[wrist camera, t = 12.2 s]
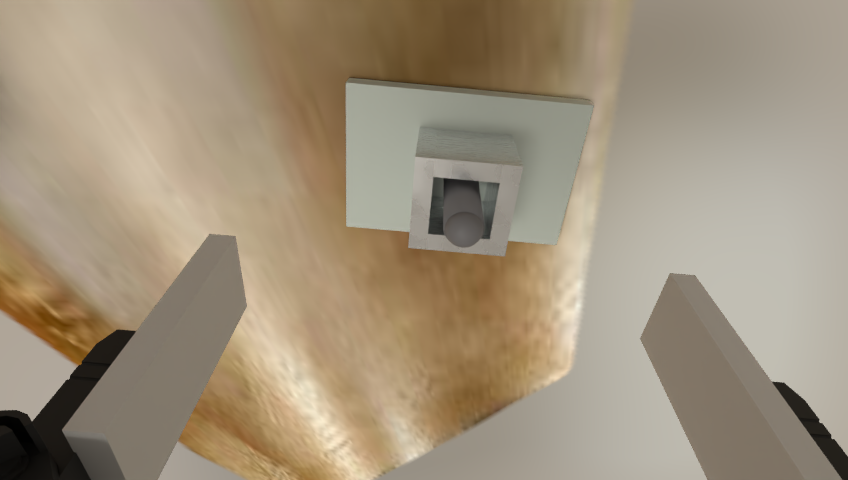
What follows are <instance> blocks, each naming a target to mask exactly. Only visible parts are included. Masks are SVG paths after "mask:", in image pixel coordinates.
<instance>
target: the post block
mask: <svg viewBox="0 0 848 480" xmlns="http://www.w3.org/2000/svg"><path fill="white" fill-rule="evenodd" d="M593 108H594V105H593V104H592V103H591V102H590V101H589V100H584V99H573V98H562V97H552V96H541V95H530V94H519V93H509V92H498V91H487V90H476V89H466V88H455V87H444V86H433V85H423V84H412V83H401V82H391V81H380V80H369V79H358V78H349V79H348V80H347V82H346V226H349V227H360V228H371V229H382V230H394V231H405V232H410V219H411V206H412V193H413V180H414V166H415V155H416V148H417V141H418V134H419V127H429V128H440V129H451V130H462V131H473V132H484V133H495V134H506V135H512V136H513V139H514V142H515V145H516V147H517V150H518V153H519V156H520V159H521V162H522V165H523V170H522V175H521V180H520V185H519V189H518V194H517V199H516V204H515V209H514V214H513V219H512V224H511V229H510V234H509V238H508V241H516V242H527V243H538V244H550V245H557V241H558V237H559V233H560V230H561V226H562V222H563V219H564V215H565V211H566V208H567V204H568V200H569V196H570V193H571V189H572V185H573V182H574V178H575V174H576V170H577V167H578V163H579V159H580V156H581V152H582V148H583V145H584V141H585V137H586V133H587V130H588V126H589V122H590V119H591V115H592V111H593ZM486 185H487V182H483V181H472V180H461V179H450V178H439V177H433V187H432V196H435V197H443V232H444V235H445V237H446V238H447V239H448V240H449V241H450V242H451V243H452V244H453V245H455V246H457V247H462V248H466V247H471V246H473V245H475V244H476V243H477V242H478V241H479V240H480V239H481V237H482V236H483V234H484V230H485V225H484V218H483V211H482V203H481V201H484V197H485V191H486Z"/></svg>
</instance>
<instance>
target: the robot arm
mask: <svg viewBox="0 0 848 480" xmlns="http://www.w3.org/2000/svg"><path fill="white" fill-rule="evenodd" d="M246 307H247V304H246V298H245V292H244V286H243V279H242V273H241V267H240V261H239V255H238V248H237V242H236V236H228V235H216V234H209V236H208V237H207V238H206V240H205V241H204V242H203V244H202V245H201V246H200V248H199V249H198V250H197V251H196V253H195V254H194V255H193V257H192V258H191V259H190V261H189V262H188V263H187V265H186V266H185V267H184V269H183V270H182V271H181V273H180V274H179V275H178V277H177V278H176V279H175V281H174V282H173V283H172V285H171V286H170V287H169V289H168V290H167V291H166V293H165V294H164V295H163V297H162V298H161V299H160V301H159V302H158V303H157V305H156V306H155V307H154V309H153V310H152V311H151V313H150V314H149V315H148V316H147V318H146V319H145V320H144V322H143V323H142V324H141V326H140V327H139V328H138V330H137V331H129V330H116V331H115V332H113V333H112V334H110V335H109V336H107V337H106V338H104V339H103V340H102V341H100V342H99V343H97V344H96V345H95V346H94V348H93V349H92V350H91V351H90V352H89V354H88V355H87V356H86V357H85V358H84V360H83V361H82V364H81V365H79V366H78V367H77V368H76V369H75V371H74V372H73V373H72V374H71V375H70V379H69V380H66V381H65V383H64V384H63V385H62V386H61V388H60V389H59V390H58V391H57V392H56V394H55V395H54V396H53V397H52V399H51V400H50V401H49V402H48V403H47V404H46V406H45V407H44V408H43V409H42V410H41V412H40V413H39V414H38V415H37V417H36V418H35V419H34V420H33V421H31V420H30V418H29V416H28V415H27V414H25V413H22V412H20V411H17V410H8V411H6V410H5V411H0V480H158V478H159V476H160V474H161V472H162V470H163V468H164V466H165V464H166V462H167V460H168V458H169V456H170V455H171V453H172V451H173V449H174V447H175V445H176V443H177V441H178V439H179V437H180V435H181V433H182V431H183V429H184V427H185V425H186V423H187V422H188V420H189V418H190V416H191V414H192V412H193V410H194V408H195V406H196V404H197V402H198V400H199V398H200V396H201V394H202V392H203V390H204V388H205V386H206V385H207V383H208V381H209V379H210V377H211V375H212V373H213V371H214V369H215V367H216V365H217V363H218V361H219V359H220V357H221V355H222V353H223V351H224V349H225V348H226V346H227V344H228V342H229V340H230V338H231V336H232V334H233V332H234V330H235V328H236V326H237V324H238V322H239V320H240V318H241V316H242V314H243V313H244V311H245V309H246ZM640 339H641V341H642V344H643V346H644V348H645V350H646V352H647V354H648V356H649V358H650V360H651V362H652V364H653V366H654V369H655V371H656V373H657V375H658V377H659V379H660V381H661V383H662V385H663V387H664V389H665V392H666V393H667V396H668V397H669V400H670V402H671V404H672V406H673V408H674V410H675V412H676V415H677V417H678V419H679V421H680V423H681V425H682V427H683V429H684V431H685V434H686V435H687V437H688V440H689V442H690V444H691V446H692V448H693V450H694V452H695V454H696V457H697V459H698V461H699V463H700V465H701V467H702V469H703V471H704V473H705V475H706V477H707V480H848V456H847V455H846V454H845V453H844V452H843V450H842V449H841V447H840V446H839V445H838V444H837V442H836V441H835V440H834V439H831V434H830V433H829V432H828V430H827V429H826V428H825V426H824V425H823V424H822V423H819V418H818V417H817V416H816V414H815V413H814V412H813V411H812V409H811V408H810V407H809V405H808V404H807V403H806V401H805V400H804V399H803V398H801V397H800V396H799V395H798V394H796V393H795V392H794V391H793V390H792V389H791V388H789V387H788V386H787V385H786V384H785V383H780V382H772V381H771V380H770V379H769V377H768V376H767V375H766V373H765V372H764V370H763V369H762V368H761V366H760V365H759V363H758V362H757V361H756V360H755V358H754V357H753V355H752V354H751V352H750V351H749V350H748V348H747V347H746V345H745V344H744V343H743V341H742V340H741V338H740V337H739V336H738V335H737V333H736V332H735V330H734V329H733V328H732V326H731V325H730V323H729V322H728V320H727V319H726V318H725V316H724V315H723V313H722V312H721V311H720V309H719V308H718V307H717V305H716V304H715V302H714V301H713V300H712V298H711V297H710V296H709V294H708V293H707V291H706V290H705V289H704V287H703V286H702V284H701V283H700V282H699V280H698V279H697V277H696V276H695V275H685V274H673V273H670V274H669V277H668V279H667V281H666V284H665V285H664V288H663V290H662V292H661V295H660V296H659V299H658V301H657V303H656V305H655V308H654V309H653V312H652V314H651V316H650V318H649V320H648V323H647V325H646V327H645V329H644V331H643V334H642V336H641V338H640Z"/></svg>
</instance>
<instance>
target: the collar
mask: <svg viewBox="0 0 848 480" xmlns="http://www.w3.org/2000/svg"><path fill="white" fill-rule="evenodd" d="M522 170H523V165H522V162H521V159H520V156H519V153H518V150H517V147H516V145H515V142H514V139H513V136H512V135H506V134H495V133H484V132H473V131H462V130H451V129H440V128H429V127H419V134H418V141H417V148H416V155H415V166H414V180H413V193H412V206H411V219H410V233H409V246H408V248H416V249H428V250H439V251H450V252H462V253H473V254H484V255H496V256H505V253H506V248H507V243H508V238H509V234H510V229H511V224H512V219H513V214H514V209H515V204H516V199H517V194H518V189H519V185H520V180H521V175H522ZM433 177H439V178H450V179H461V180H472V181H483V182H487V185H486V191H485V197H484V201H481V203H482V211H483V218H484V225H485V230H484V234H483V236H482V237H481V239H480V240H479V241H478V242H477V243H476V244H475V245H473V246H471V247H466V248H462V247H457V246H455V245H453V244H452V243H451V242H450V241H449V240H448V239H447V238H446V237H445V235H444V232H443V197H435V196H432V187H433Z"/></svg>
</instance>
